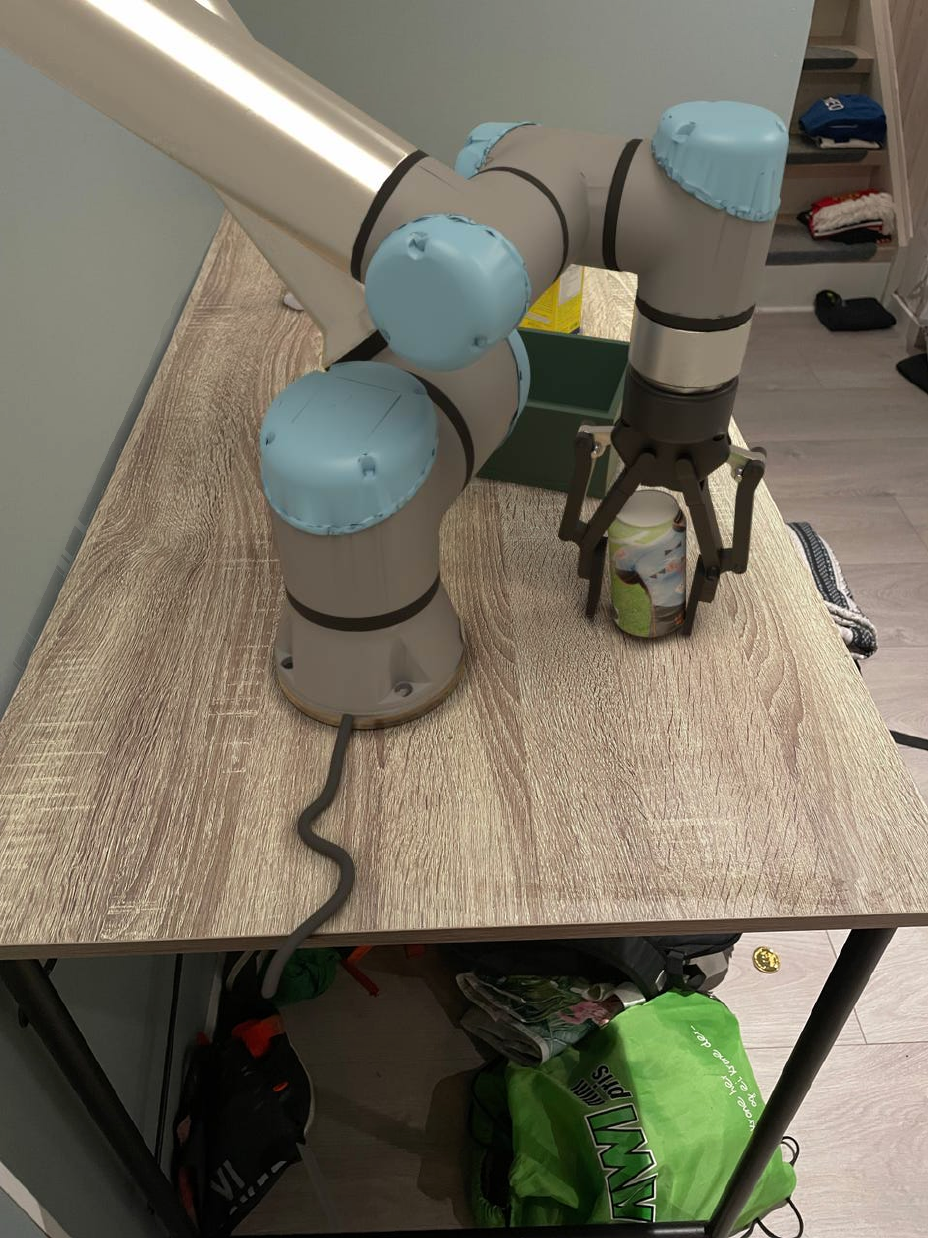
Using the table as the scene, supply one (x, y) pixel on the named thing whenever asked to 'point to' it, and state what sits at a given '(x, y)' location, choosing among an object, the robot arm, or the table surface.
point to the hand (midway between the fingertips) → (639, 614)
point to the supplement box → (559, 304)
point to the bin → (562, 410)
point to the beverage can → (648, 564)
